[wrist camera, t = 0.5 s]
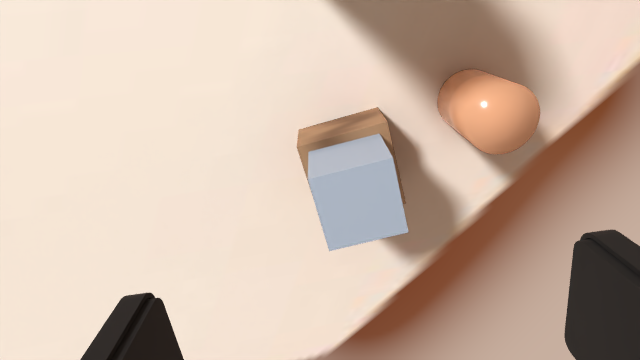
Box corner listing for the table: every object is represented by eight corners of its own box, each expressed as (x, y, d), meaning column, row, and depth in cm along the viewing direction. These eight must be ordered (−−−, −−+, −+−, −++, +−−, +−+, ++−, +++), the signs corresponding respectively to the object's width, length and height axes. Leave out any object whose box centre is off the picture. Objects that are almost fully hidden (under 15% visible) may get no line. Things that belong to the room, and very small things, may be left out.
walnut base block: (377, 106, 34) (387, 121, 30) (394, 179, 37) (405, 203, 32) (298, 129, 35) (296, 147, 30) (320, 199, 38) (322, 225, 33)
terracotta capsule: (493, 61, 33) (537, 73, 27) (499, 119, 35) (542, 143, 28) (432, 78, 33) (461, 94, 27) (442, 134, 35) (471, 162, 29)
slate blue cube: (379, 133, 30) (392, 157, 25) (393, 197, 32) (408, 232, 27) (308, 151, 31) (307, 179, 26) (326, 214, 33) (329, 251, 28)
